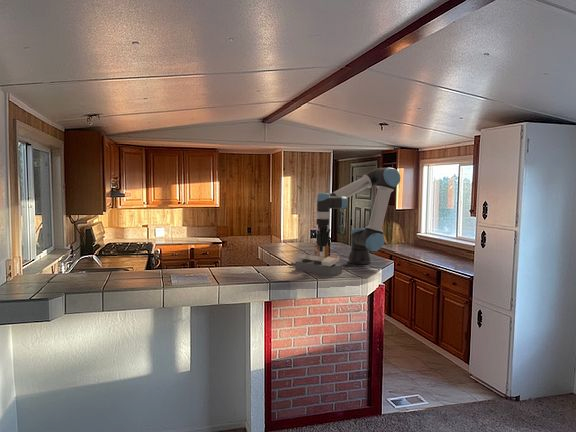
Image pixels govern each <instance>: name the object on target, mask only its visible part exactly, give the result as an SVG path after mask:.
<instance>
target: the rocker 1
mask: <svg viewBox="0 0 576 432" xmlns="http://www.w3.org/2000/svg"><path fill="white" fill-rule="evenodd" d="M310 255H311V254H305V253H300V252H299V253H298V254H297V258H299V259H309V258H310ZM312 255H313V254H312ZM313 256H315V254H314V255H313ZM309 260H311V259H309Z"/></svg>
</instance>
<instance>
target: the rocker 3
mask: <svg viewBox="0 0 576 432" xmlns="http://www.w3.org/2000/svg"><path fill="white" fill-rule="evenodd" d="M340 260H341V259H340V255H335V254H330V256H329V257H327V258H326V259H324V260H323V261H321V262H322V265H324V266H332V265H333V264H337V263H338V262H339V261H340Z"/></svg>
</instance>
